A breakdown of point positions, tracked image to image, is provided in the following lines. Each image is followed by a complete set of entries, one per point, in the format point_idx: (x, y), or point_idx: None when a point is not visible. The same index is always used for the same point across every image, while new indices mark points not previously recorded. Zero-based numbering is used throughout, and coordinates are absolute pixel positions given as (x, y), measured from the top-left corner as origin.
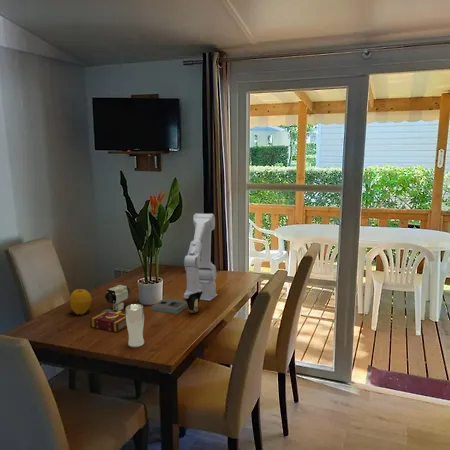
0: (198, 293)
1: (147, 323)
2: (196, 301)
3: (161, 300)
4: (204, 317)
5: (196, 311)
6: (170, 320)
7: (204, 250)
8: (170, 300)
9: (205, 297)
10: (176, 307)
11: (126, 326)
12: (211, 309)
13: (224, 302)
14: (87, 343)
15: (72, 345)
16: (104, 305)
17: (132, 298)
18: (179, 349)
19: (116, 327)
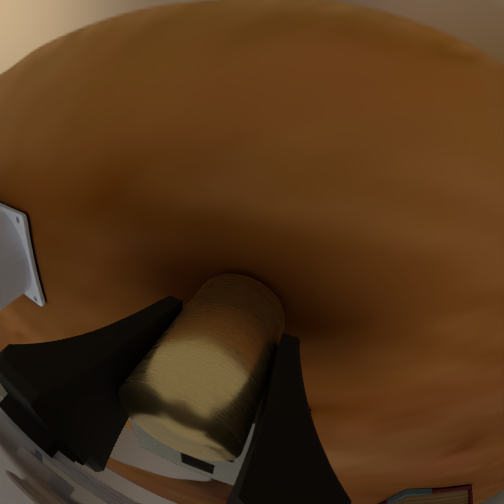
0: (59, 418)
1: (428, 468)
2: (209, 382)
3: (173, 461)
4: (384, 162)
5: (262, 289)
6: (421, 419)
7: None
8: (153, 439)
9: (17, 255)
10: (249, 437)
11: (441, 490)
12: (131, 142)
13: (20, 107)
14: (499, 486)
15: (493, 494)
16: None
17: (174, 481)
18: None
19: (468, 499)
